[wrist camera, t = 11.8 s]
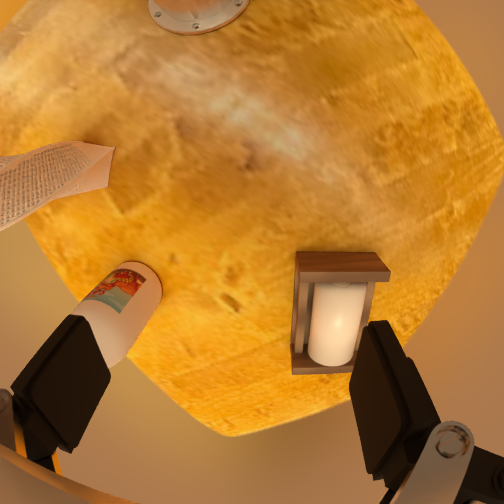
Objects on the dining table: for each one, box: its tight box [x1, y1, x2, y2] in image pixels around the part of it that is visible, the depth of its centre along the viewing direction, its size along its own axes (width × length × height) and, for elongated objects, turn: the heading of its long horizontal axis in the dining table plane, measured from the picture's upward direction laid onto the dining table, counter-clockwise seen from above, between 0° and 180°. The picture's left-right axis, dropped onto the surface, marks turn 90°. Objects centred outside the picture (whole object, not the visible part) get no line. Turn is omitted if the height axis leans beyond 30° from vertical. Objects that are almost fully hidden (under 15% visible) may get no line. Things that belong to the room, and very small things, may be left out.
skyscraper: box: [0, 141, 115, 231], centre depth 19 cm, size 8×8×28 cm
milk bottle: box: [71, 262, 162, 368], centre depth 29 cm, size 8×8×20 cm
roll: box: [308, 282, 367, 366], centre depth 34 cm, size 10×6×6 cm, turn 1°
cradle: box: [290, 252, 391, 375], centre depth 35 cm, size 14×10×6 cm
